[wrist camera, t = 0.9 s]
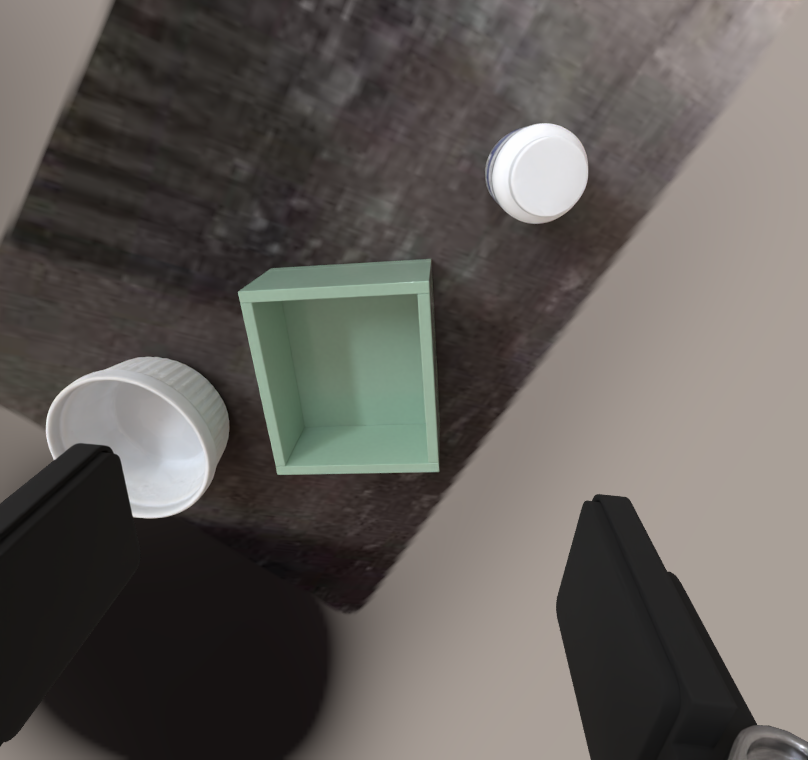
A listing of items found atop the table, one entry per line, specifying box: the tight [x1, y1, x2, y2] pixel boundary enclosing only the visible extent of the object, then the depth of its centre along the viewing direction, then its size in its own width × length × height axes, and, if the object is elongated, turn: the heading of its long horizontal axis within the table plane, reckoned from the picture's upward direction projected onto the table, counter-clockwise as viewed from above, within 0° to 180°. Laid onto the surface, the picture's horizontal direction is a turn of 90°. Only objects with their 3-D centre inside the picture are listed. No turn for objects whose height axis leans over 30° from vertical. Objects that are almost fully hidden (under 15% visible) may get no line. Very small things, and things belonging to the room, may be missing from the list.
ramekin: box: [46, 357, 229, 518], centre depth 42 cm, size 13×13×7 cm
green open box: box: [238, 259, 440, 475], centre depth 38 cm, size 15×13×7 cm
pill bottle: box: [485, 123, 588, 224], centre depth 30 cm, size 5×5×10 cm
